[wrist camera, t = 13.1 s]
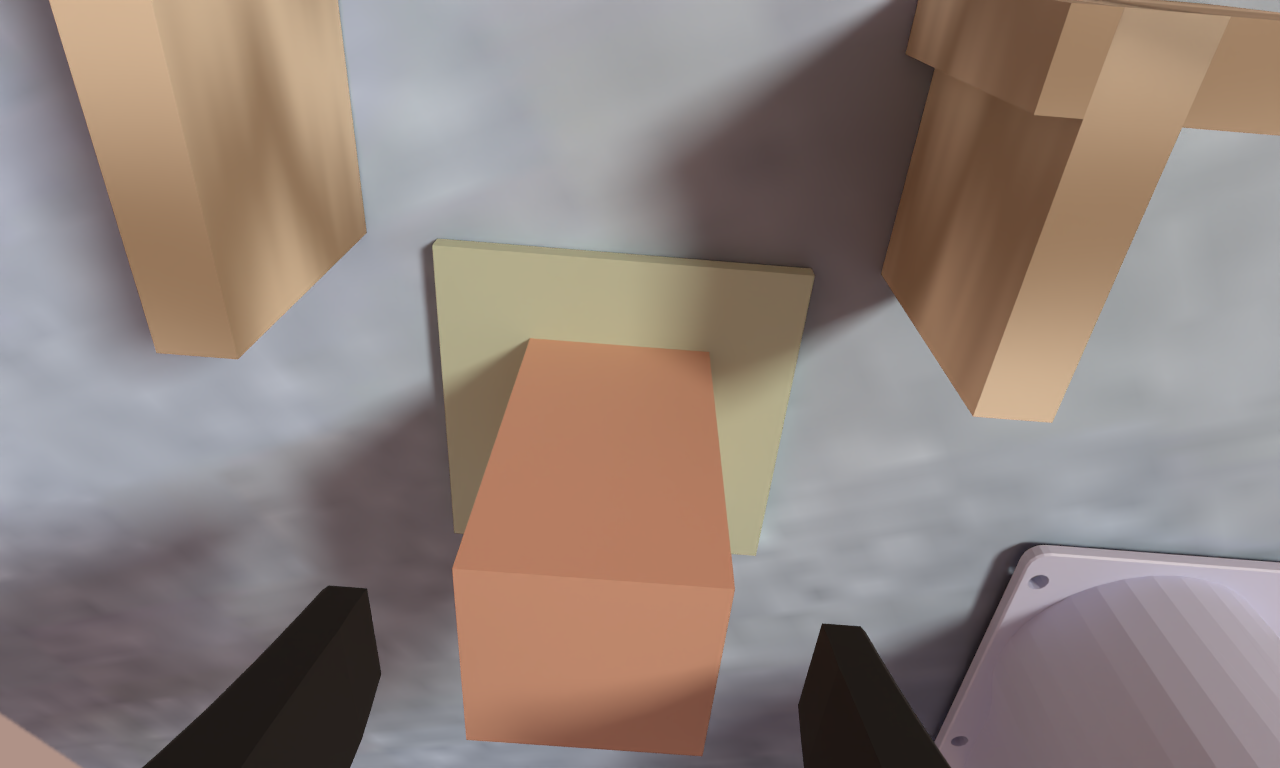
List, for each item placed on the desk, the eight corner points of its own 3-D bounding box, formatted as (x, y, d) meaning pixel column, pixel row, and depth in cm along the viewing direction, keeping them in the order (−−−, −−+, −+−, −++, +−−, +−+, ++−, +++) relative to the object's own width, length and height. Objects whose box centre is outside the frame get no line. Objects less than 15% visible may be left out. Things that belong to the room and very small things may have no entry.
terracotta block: (690, 491, 18) (701, 755, 12) (530, 479, 18) (466, 739, 12) (709, 352, 16) (734, 589, 10) (530, 338, 16) (452, 568, 10)
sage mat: (753, 544, 20) (755, 555, 20) (458, 522, 20) (454, 533, 19) (811, 268, 16) (814, 275, 15) (437, 238, 16) (431, 245, 15)
